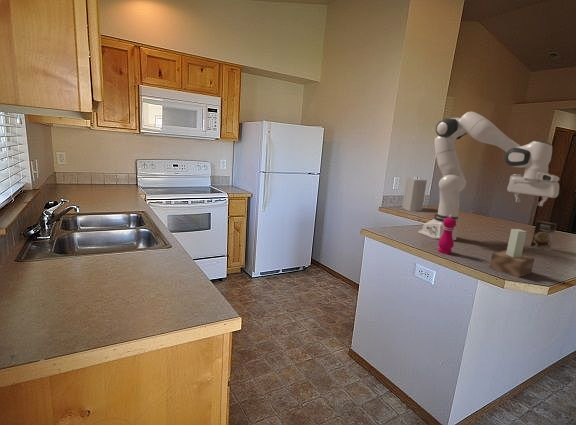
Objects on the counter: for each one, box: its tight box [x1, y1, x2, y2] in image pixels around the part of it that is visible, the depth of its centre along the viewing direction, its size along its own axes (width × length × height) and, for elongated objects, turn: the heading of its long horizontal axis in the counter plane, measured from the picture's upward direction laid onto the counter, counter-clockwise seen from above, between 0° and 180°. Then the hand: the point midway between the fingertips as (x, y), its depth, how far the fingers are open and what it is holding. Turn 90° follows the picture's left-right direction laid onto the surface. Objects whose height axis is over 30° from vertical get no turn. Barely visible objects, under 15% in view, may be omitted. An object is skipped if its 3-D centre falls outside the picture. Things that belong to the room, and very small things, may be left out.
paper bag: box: [402, 177, 428, 212], centre depth 291 cm, size 19×15×28 cm
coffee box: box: [530, 220, 558, 253], centre depth 185 cm, size 9×6×16 cm
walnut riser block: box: [489, 250, 535, 278], centre depth 144 cm, size 12×12×7 cm
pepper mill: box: [437, 215, 457, 255], centre depth 164 cm, size 7×7×20 cm
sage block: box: [505, 228, 527, 258], centre depth 143 cm, size 4×4×12 cm
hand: (528, 204), depth 155 cm, fingers open, 8 cm apart
